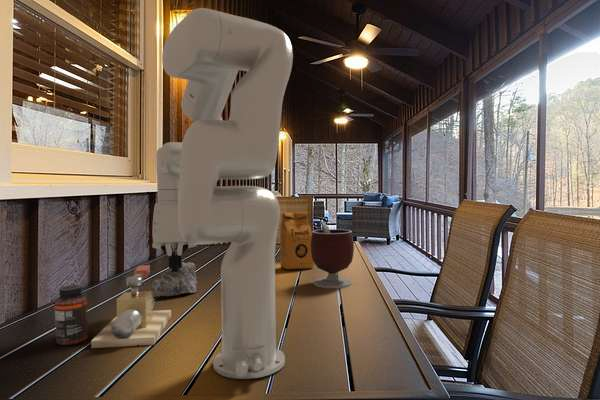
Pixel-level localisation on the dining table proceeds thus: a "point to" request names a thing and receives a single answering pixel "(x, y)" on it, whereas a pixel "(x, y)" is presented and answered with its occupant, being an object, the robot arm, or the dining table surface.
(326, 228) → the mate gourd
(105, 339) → the board
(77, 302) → the supplement bottle
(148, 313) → the valve body
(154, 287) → the mineral rock
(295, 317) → the dining table surface
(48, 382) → the dining table surface
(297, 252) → the coffee package
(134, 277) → the lever
